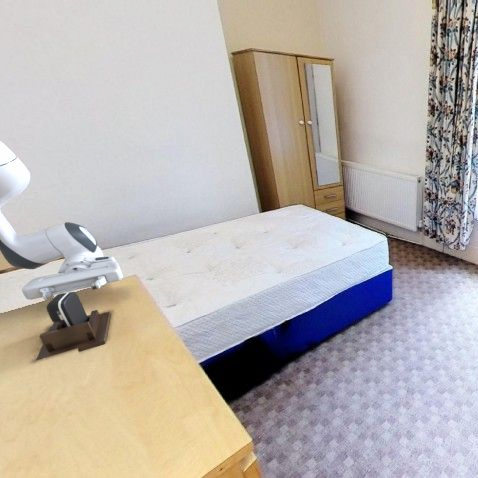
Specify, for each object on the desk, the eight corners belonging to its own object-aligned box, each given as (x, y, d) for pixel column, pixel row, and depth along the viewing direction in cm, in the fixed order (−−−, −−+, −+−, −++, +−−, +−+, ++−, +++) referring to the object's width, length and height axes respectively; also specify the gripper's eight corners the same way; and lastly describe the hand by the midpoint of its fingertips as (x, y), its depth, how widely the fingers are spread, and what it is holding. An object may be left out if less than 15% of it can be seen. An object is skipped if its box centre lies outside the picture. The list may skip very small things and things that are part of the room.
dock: (38, 363, 77) (26, 343, 74) (52, 330, 88) (42, 311, 85) (105, 343, 84) (96, 324, 81) (111, 314, 95) (103, 297, 92)
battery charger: (73, 326, 87) (55, 291, 83) (92, 323, 89) (75, 288, 84) (60, 343, 82) (40, 306, 77) (80, 339, 83) (62, 302, 79)
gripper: (25, 272, 92) (9, 294, 82) (119, 254, 104) (116, 272, 94) (35, 290, 95) (21, 314, 85) (126, 271, 106) (123, 290, 96)
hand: (72, 292), depth 89 cm, fingers open, 8 cm apart
